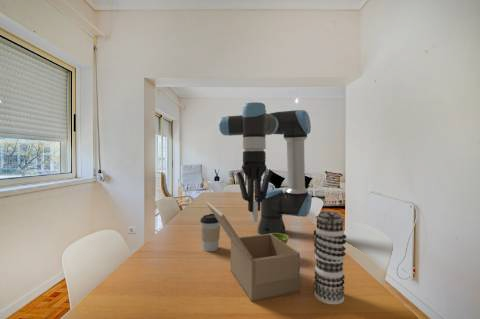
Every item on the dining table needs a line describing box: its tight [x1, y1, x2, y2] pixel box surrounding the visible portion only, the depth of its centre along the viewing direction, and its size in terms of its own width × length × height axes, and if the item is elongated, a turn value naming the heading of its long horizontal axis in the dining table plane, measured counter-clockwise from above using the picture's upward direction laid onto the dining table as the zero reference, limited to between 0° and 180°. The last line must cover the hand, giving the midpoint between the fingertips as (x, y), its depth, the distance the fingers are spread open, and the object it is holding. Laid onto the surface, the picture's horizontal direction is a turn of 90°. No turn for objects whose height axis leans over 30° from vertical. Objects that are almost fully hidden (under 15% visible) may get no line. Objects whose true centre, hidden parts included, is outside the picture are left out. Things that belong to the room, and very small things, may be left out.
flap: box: [205, 201, 252, 259], centre depth 80 cm, size 16×20×1 cm
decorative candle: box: [313, 210, 347, 305], centre depth 75 cm, size 9×9×25 cm
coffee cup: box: [200, 213, 221, 252], centre depth 113 cm, size 9×9×15 cm
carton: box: [230, 234, 301, 302], centre depth 84 cm, size 16×21×12 cm
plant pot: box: [270, 233, 290, 245], centre depth 104 cm, size 9×9×9 cm
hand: (254, 220), depth 84 cm, fingers closed
